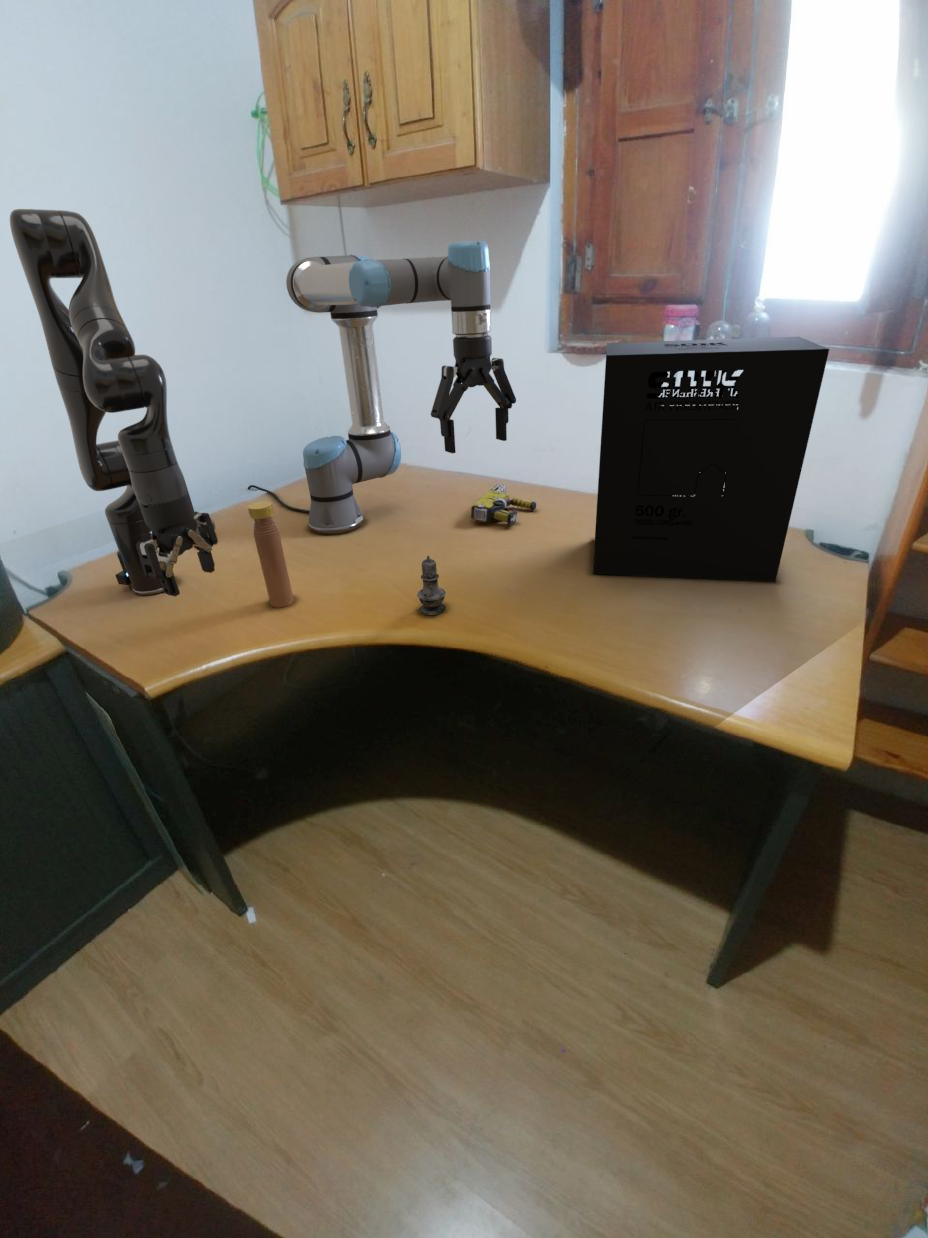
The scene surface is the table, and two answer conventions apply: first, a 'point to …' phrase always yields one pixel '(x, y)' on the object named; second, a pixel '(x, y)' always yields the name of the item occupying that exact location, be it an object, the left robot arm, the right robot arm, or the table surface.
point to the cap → (260, 510)
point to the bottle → (272, 562)
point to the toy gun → (498, 506)
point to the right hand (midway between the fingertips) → (476, 445)
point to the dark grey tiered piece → (431, 589)
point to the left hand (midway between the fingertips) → (191, 582)
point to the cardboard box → (703, 455)
